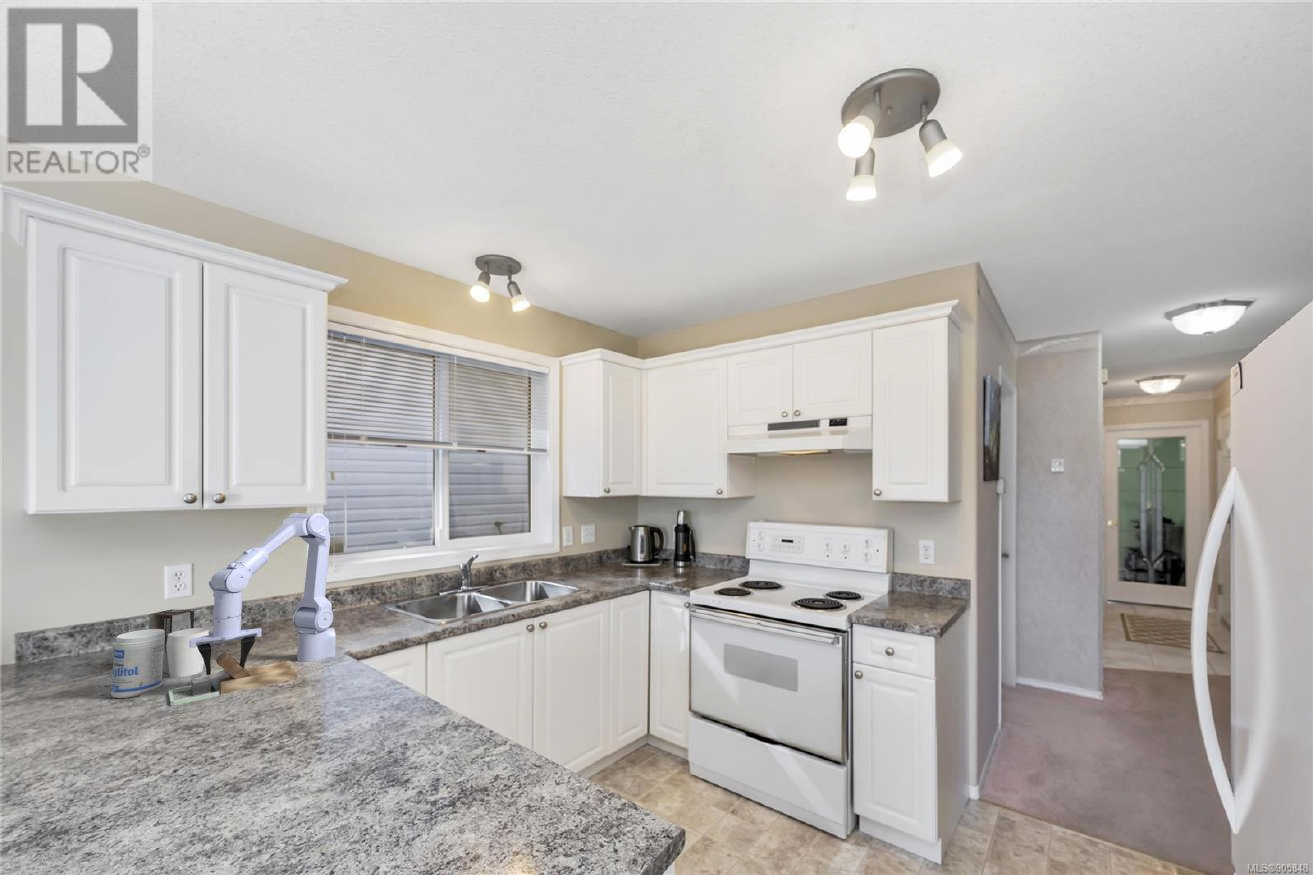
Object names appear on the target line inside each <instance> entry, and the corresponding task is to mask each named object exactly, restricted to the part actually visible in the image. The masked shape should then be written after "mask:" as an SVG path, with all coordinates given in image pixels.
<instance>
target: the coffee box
mask: <svg viewBox="0 0 1313 875" xmlns="http://www.w3.org/2000/svg"><path fill="white" fill-rule="evenodd" d="M148 623H149V624H148V629H162V630H164V631H165V644H164V657H163V669H162V673H167V674H170V672H169V665H168V657H167V649H166V645H167V637H168V634H170V633H172V632H175V631H180V630H185V629H192V628H195V627H194V624H195V610H190V609H175V608H174V609H173V608H172V609H167V610H162V611H158V612H154V613H150V614H149V620H148Z"/></svg>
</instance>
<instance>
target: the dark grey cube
mask: <svg viewBox="0 0 1313 875" xmlns="http://www.w3.org/2000/svg"><path fill="white" fill-rule="evenodd" d="M190 685H191V690H190V694H191V695H192V697H195V696H200V695H204V694H209V693H212V685H211V678H210V676H206V677H205V676H204V677H200V678H199V677H198V678H195V679H194V678H193V679H191V683H190Z"/></svg>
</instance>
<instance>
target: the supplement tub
mask: <svg viewBox="0 0 1313 875" xmlns="http://www.w3.org/2000/svg"><path fill="white" fill-rule="evenodd" d="M164 644H165V631H164V630H162V629H149V628H147V629H140V630H134V631H129V632H125V633H122V634H119V635H117V636H116V639H115V642H114V650H113V659H112V660H113V662H112V663H113V664H112V674H111V685H110V695H111V696H112V697H113V698H115V699H116V698H117V699H128V698H133V697H139V696H141V693H143V692H144V693H145V692H148V691H151V690H154V689H156V688H158V687H160V686H162V678H163V672H162V669H163V657H164Z"/></svg>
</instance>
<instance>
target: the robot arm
mask: <svg viewBox="0 0 1313 875" xmlns="http://www.w3.org/2000/svg"><path fill="white" fill-rule="evenodd" d="M329 526H330V520H329V519H328V518H327V517H326V516H325V515H324V514H323V513H321V512H316V513H303V512H302V513H300V512H293V513H291V514H290V515H289V516H288V517H286V518H284V519H283V520H282V522H281V525H279V527H278V528H277V529H275V531H274V532H272V533H271V535H269V536H268V537H267V538H266V539H265V540H264V541H263V542H262V543H261V544H260V545H259V546H258V547H254V546H253V547H249V548H245V549H244V550H243V551H242V553H243V554H241V555H240V556H239V557H237V558H236V559H235V560H234V561H232V562H230V563H228V564H227V566H226V568H221V569H219V570H217V571H216V572H215V573H214V574H213V575H212V577H211V580H209V581H208V586H209V587H210V590H212V593H213V594H212V596H213V598H214V599H213V600H214V601H213V619H212V620H213V622H212V634H208V635H207V636H203V637H198V638H193V639H190V646H189V647H190V648H195V647H197V648H198V650H199V652H200V654H201V655H202V657H203V660H204V667H205V673H206V676H211V675H212V674H211V672H212V666H211V655H212V646H211V645H215V644H221V643H227V642H233V641H238V640H240V660H239V663H240V666H241V667H242V668H245V665H246V662H247V659H248V656H249V655H250V652H251V649H252V648H253V646H254V644H255V642H256V638H260V637H262V630H263V629H262V628H261V627H258V628H251V629H250V628H247V629H242V611H243V610H242V607H243V606H242V605H243V590H244V589H246V588H247V587H248V584H249V583H250V579H251V578H252V577H253V575H255V574H256V573H257V572H258V571H259V570H261V569H262V568H263V566H265V565H266V564H267V563H268V562H269V556H270V555H271V554H273V553H274V552H275V551H276V550H277V549H279V548H280V547H281V546H283V545H284V544H286V543H287V542H288V541H289V540H291V539H292V538H297V537H299V538H301V539H302V540H303V541H305V543H306V544H308V550H307V551H308V552H307V559H306V560H307V562H306V568H305V569H306V570H305V580H304V591H303V598H302V599H301V600H299V602H298V603H296V609H295V612H294V613H293V616H292V620H291V621H292V626H294V628H296V632H298V634H297V658H296V660H297V662H299V663H309V662H310V663H311V662H315V661H320V660H323V659H329V658H333V657H336V641H337V640H336V637H337V636H336V630H335V628H334V627H330V626H331V625H332V624H333V620H334V613H333V610H332V607H333V606H332V603H331V601H330V600H329V599H328V598H327V597H326V590H327V580H328V579H327V578H328V568H329V558H330V557H329V556H330V548H331V547H330V546H331V535H330V534H331V533H330V530H329Z"/></svg>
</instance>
